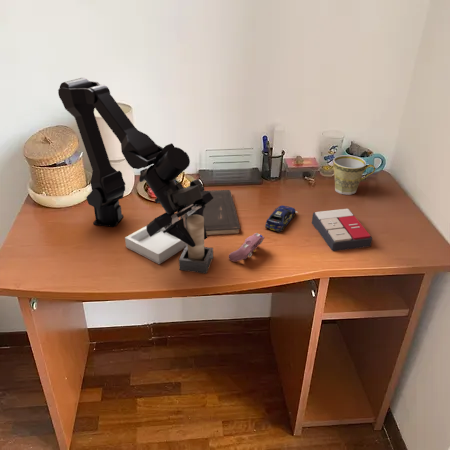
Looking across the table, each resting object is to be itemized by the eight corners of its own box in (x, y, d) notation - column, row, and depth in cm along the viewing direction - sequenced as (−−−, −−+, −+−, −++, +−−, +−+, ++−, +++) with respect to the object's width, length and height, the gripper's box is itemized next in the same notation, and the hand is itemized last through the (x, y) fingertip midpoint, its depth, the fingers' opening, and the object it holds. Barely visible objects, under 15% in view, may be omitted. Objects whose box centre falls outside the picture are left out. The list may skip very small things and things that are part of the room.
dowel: (186, 267, 121) (184, 221, 114) (190, 258, 125) (189, 213, 118) (202, 269, 120) (201, 224, 114) (206, 260, 124) (205, 215, 117)
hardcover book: (230, 196, 155) (230, 189, 153) (240, 235, 135) (240, 228, 134) (178, 198, 153) (178, 191, 152) (181, 238, 133) (181, 231, 132)
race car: (277, 207, 148) (278, 194, 146) (298, 212, 146) (300, 198, 144) (261, 232, 136) (262, 218, 134) (285, 237, 134) (286, 223, 132)
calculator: (334, 241, 126) (312, 210, 138) (331, 254, 128) (310, 222, 141) (373, 236, 128) (349, 206, 140) (370, 249, 131) (346, 218, 143)
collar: (179, 269, 120) (178, 259, 119) (187, 254, 126) (186, 244, 124) (206, 273, 119) (206, 263, 118) (212, 257, 125) (212, 247, 123)
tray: (126, 247, 128) (125, 237, 127) (158, 228, 137) (158, 219, 135) (159, 264, 122) (158, 254, 121) (191, 243, 130) (191, 233, 129)
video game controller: (239, 270, 123) (251, 253, 118) (225, 258, 124) (237, 241, 119) (258, 251, 130) (270, 235, 126) (245, 240, 131) (256, 223, 126)
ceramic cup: (329, 196, 154) (333, 166, 149) (329, 182, 162) (332, 153, 157) (372, 199, 152) (377, 170, 147) (369, 185, 161) (374, 156, 155)
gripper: (151, 187, 106) (191, 248, 106) (207, 160, 119) (243, 214, 119) (130, 207, 114) (166, 264, 114) (184, 180, 127) (217, 231, 127)
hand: (200, 242), depth 118 cm, fingers closed on dowel, 4 cm apart
